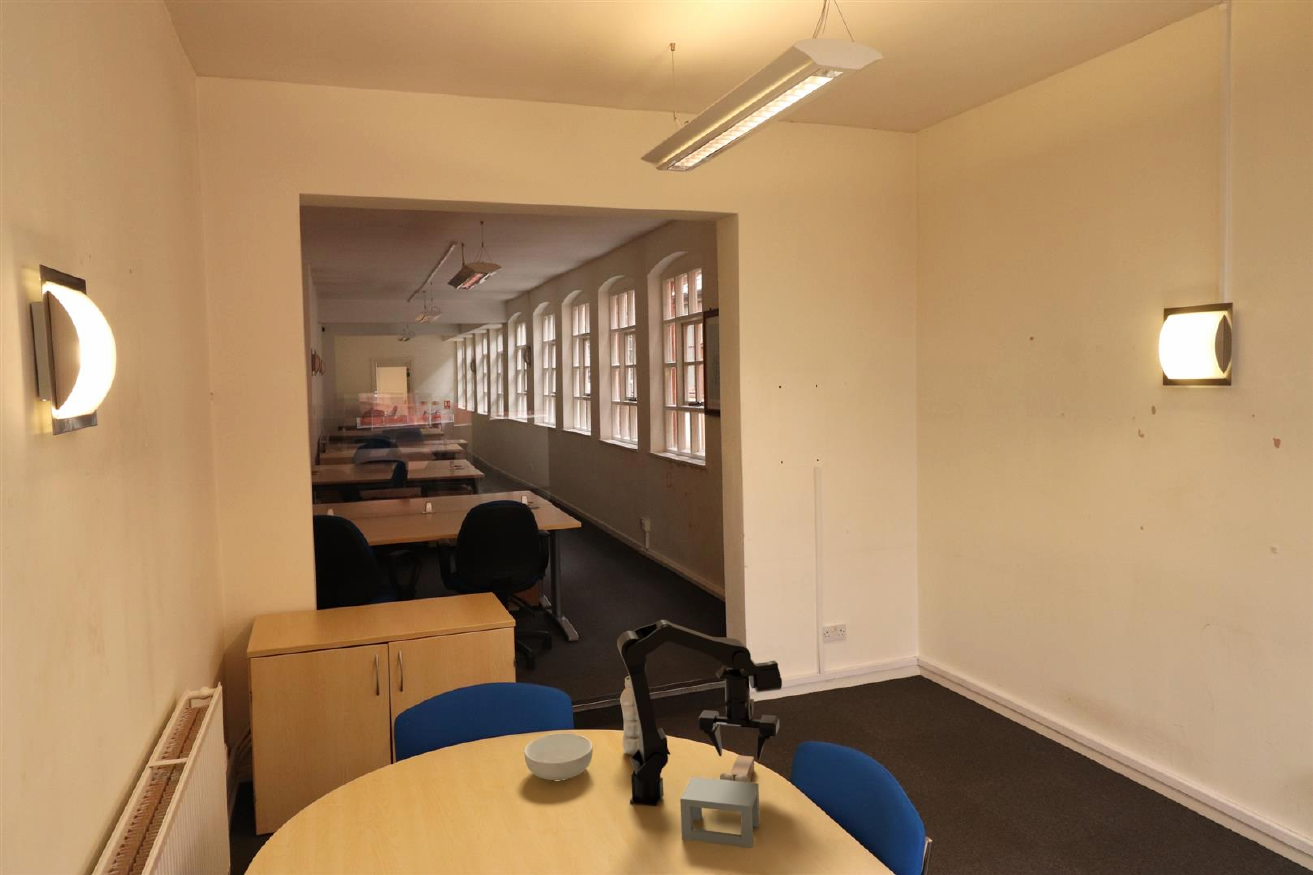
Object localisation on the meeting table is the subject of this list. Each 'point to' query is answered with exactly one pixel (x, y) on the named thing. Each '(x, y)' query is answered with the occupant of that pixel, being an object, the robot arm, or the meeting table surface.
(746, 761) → the glasses tray
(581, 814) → the meeting table surface
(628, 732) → the plastic bottle
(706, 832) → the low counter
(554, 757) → the cereal bowl
